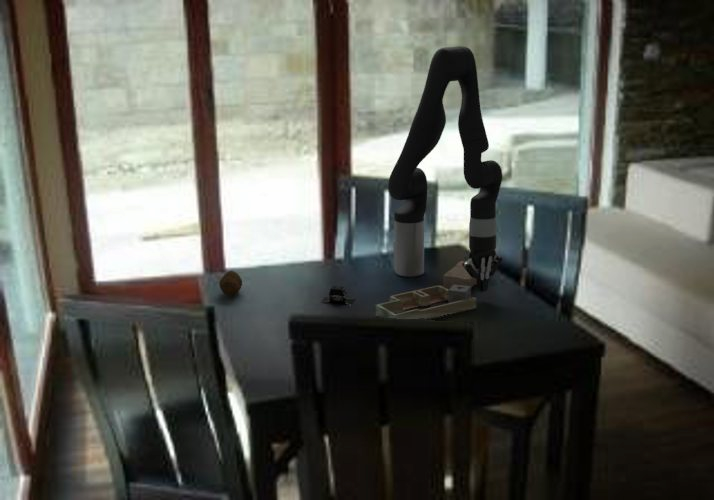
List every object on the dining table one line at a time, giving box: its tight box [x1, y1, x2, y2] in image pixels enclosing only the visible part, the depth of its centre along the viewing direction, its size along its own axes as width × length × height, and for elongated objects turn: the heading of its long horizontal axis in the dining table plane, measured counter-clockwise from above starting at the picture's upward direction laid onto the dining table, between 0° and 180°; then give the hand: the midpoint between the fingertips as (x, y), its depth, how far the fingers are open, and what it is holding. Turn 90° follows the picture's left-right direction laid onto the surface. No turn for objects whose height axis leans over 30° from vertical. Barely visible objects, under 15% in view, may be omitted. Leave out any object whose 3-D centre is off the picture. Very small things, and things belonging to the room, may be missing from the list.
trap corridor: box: [375, 284, 477, 319], centre depth 229 cm, size 15×27×4 cm, turn 120°
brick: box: [442, 260, 477, 289], centre depth 251 cm, size 17×8×5 cm, turn 153°
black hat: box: [320, 285, 357, 306], centre depth 237 cm, size 12×7×5 cm, turn 75°
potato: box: [219, 270, 243, 298], centre depth 244 cm, size 7×12×7 cm, turn 9°
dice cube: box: [447, 285, 472, 304], centre depth 232 cm, size 5×5×5 cm
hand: (482, 291), depth 235 cm, fingers closed
